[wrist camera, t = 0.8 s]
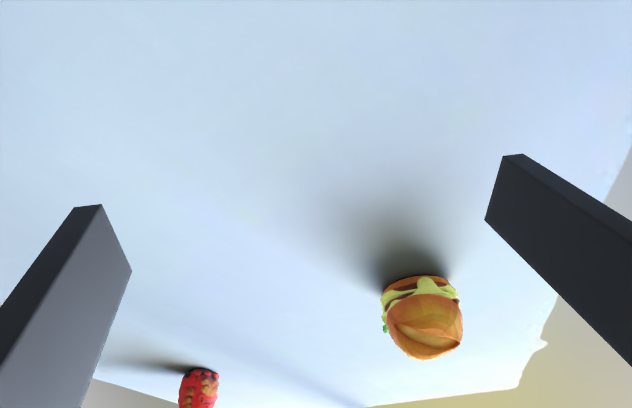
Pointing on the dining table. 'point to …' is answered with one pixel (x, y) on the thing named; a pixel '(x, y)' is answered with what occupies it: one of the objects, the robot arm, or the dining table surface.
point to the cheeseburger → (422, 316)
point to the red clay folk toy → (198, 389)
